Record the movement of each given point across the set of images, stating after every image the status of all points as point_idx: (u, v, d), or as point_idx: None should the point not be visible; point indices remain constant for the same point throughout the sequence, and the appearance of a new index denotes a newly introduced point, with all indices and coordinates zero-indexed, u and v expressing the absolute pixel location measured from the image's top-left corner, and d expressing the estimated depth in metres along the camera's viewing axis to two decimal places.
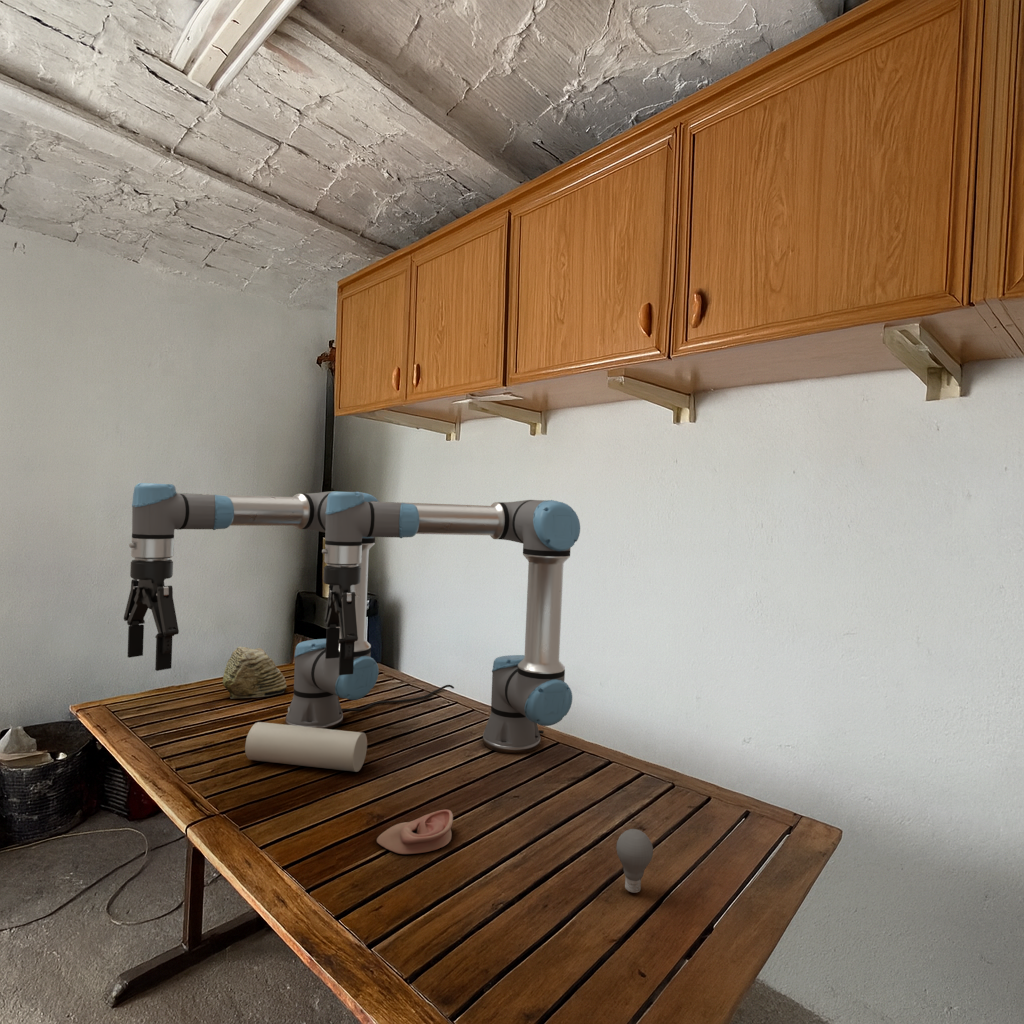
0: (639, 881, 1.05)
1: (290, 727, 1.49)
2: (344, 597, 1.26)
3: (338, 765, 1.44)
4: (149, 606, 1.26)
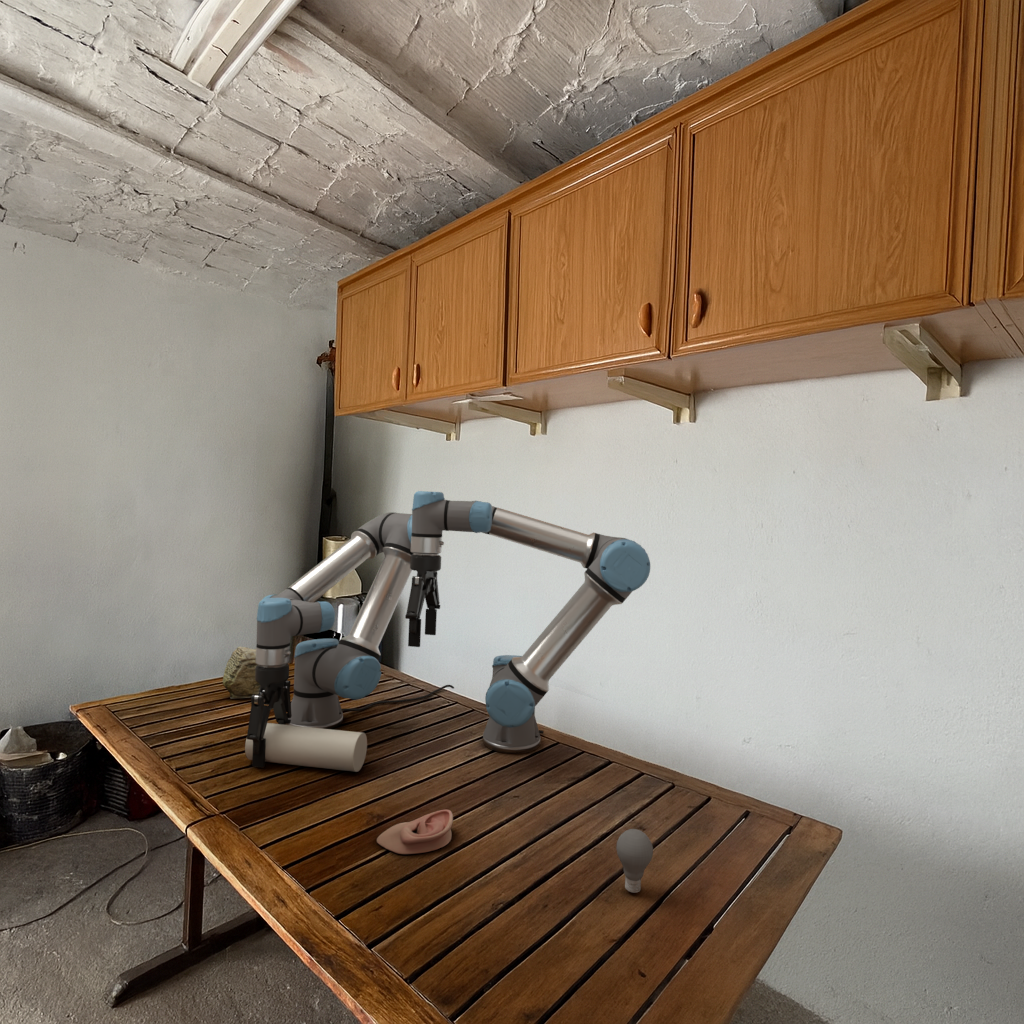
0: (639, 881, 1.05)
1: (290, 727, 1.49)
2: None
3: (338, 765, 1.44)
4: (283, 700, 1.53)
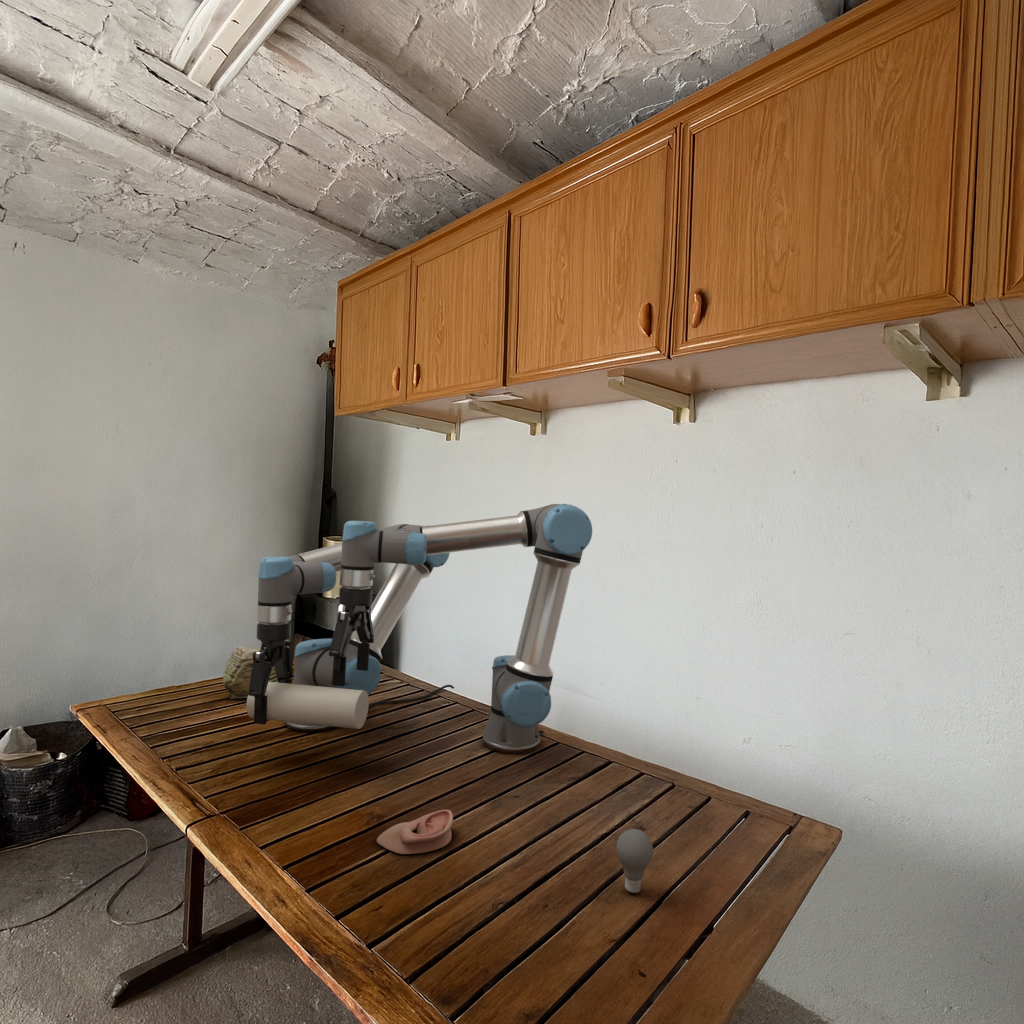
0: (639, 881, 1.05)
1: (291, 685, 1.49)
2: None
3: (340, 721, 1.44)
4: (285, 659, 1.53)
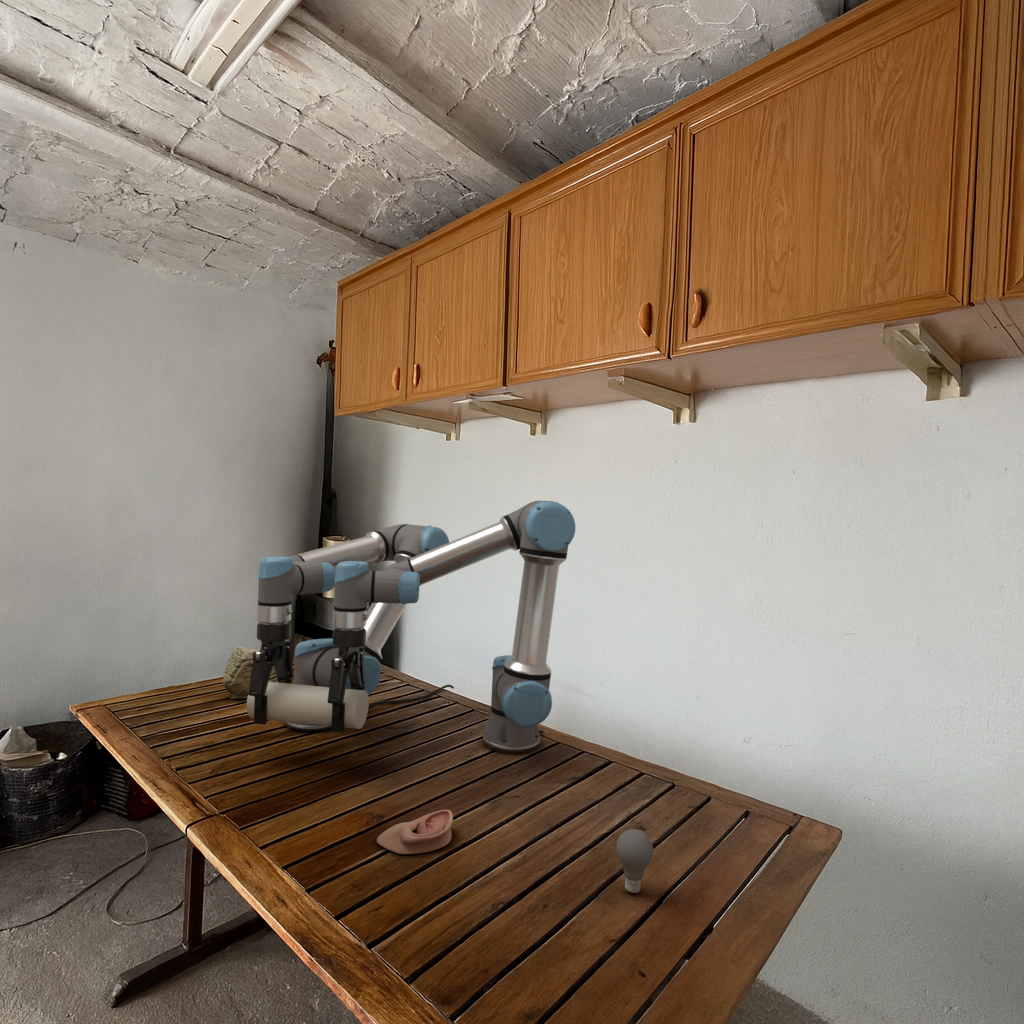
0: (639, 881, 1.05)
1: (292, 685, 1.49)
2: None
3: None
4: (285, 659, 1.53)
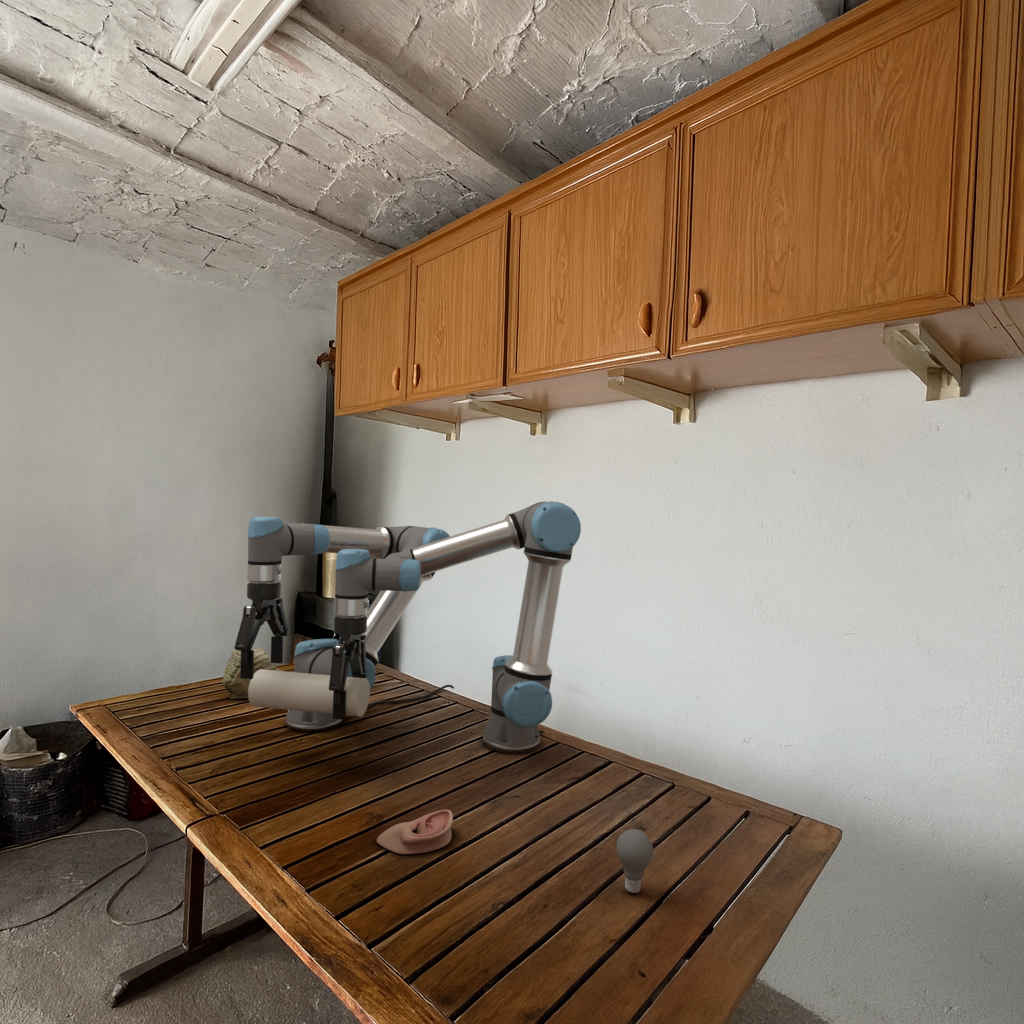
0: (639, 881, 1.05)
1: (293, 673, 1.49)
2: None
3: None
4: (277, 616, 1.54)
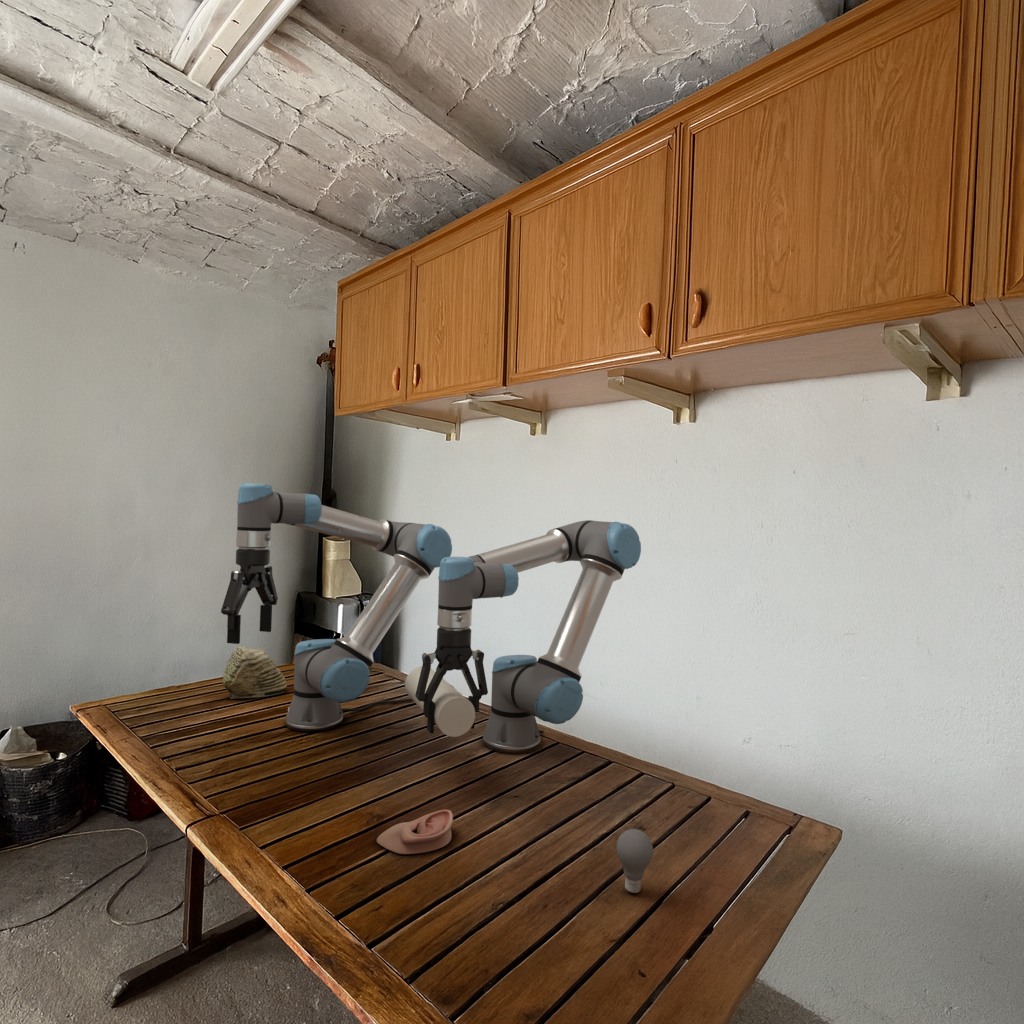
0: (639, 881, 1.05)
1: (431, 676, 1.52)
2: None
3: (434, 722, 1.38)
4: (266, 584, 1.54)
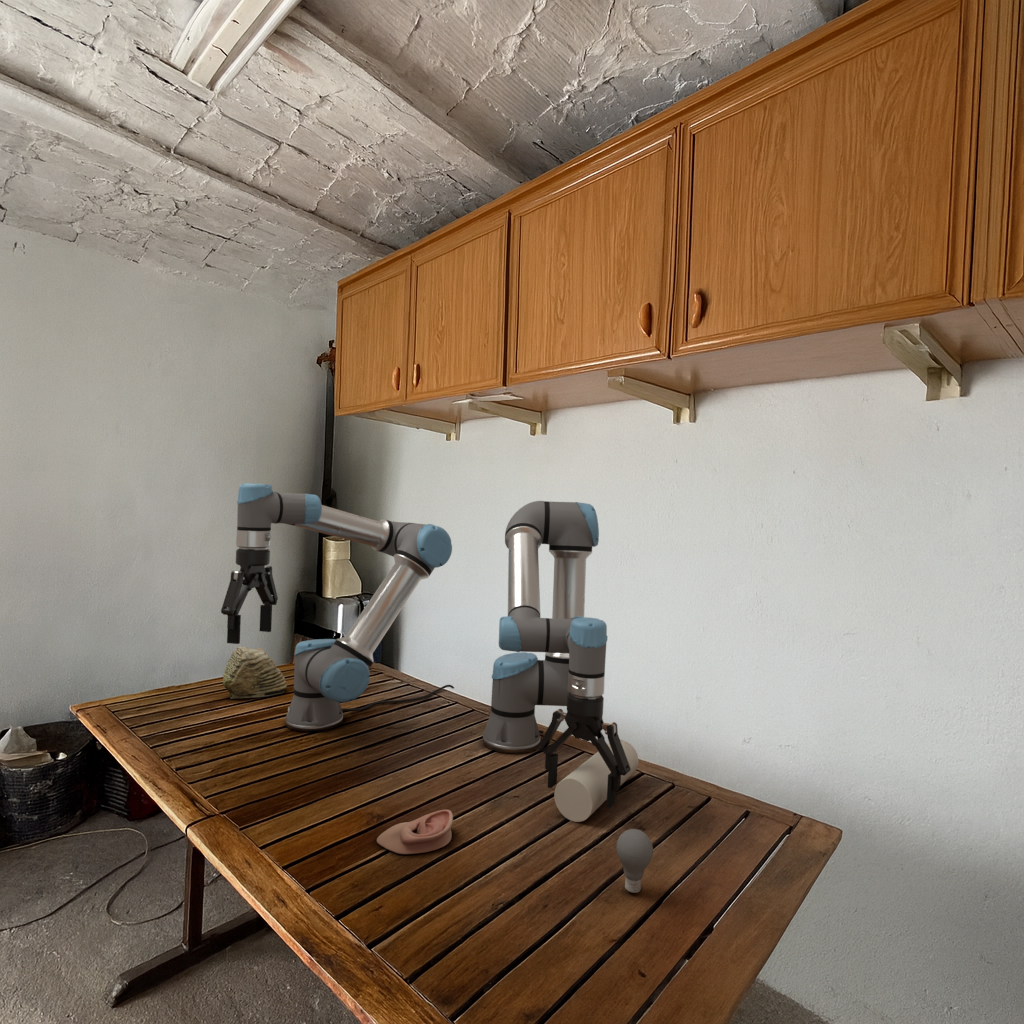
0: (639, 881, 1.05)
1: None
2: (612, 730, 1.27)
3: None
4: (266, 584, 1.54)
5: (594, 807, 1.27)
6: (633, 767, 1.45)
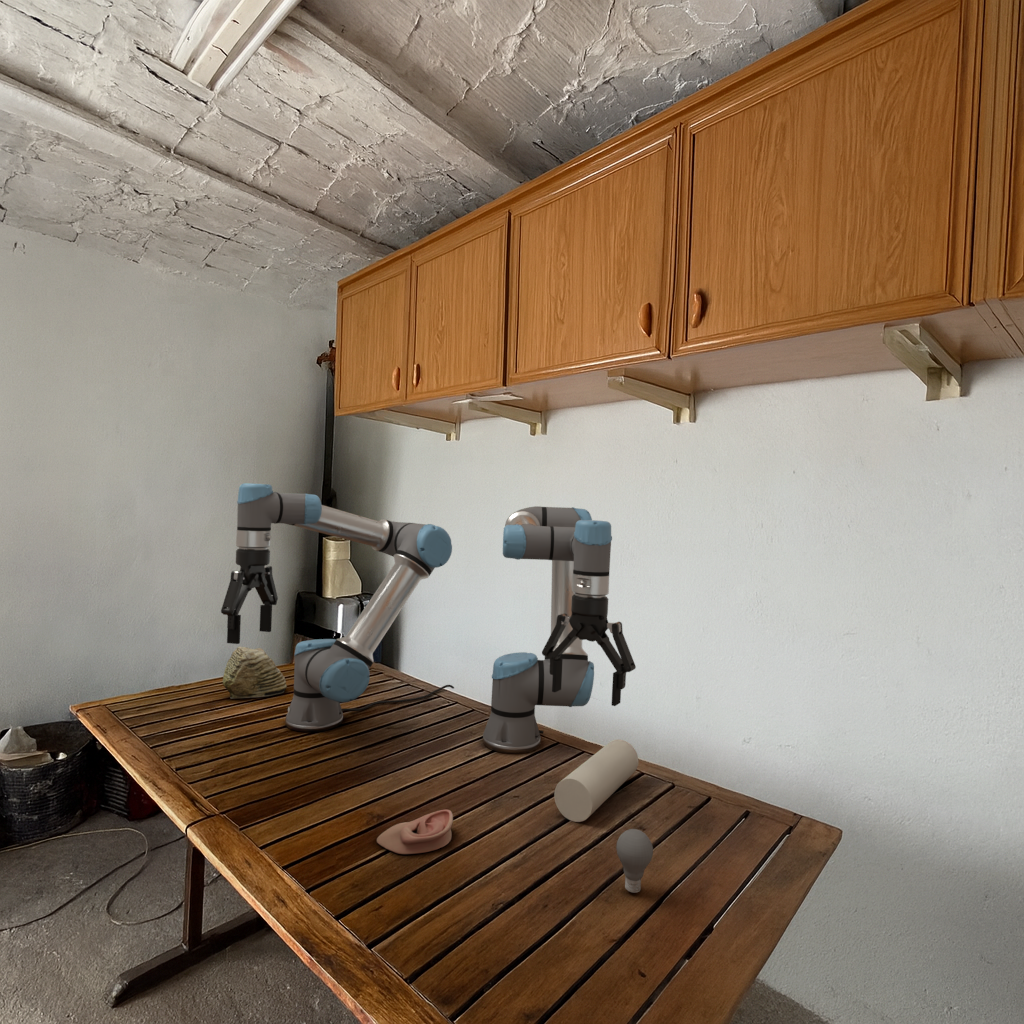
0: (639, 881, 1.05)
1: (605, 751, 1.43)
2: (617, 628, 1.26)
3: None
4: (266, 584, 1.54)
5: (594, 807, 1.27)
6: (633, 767, 1.45)
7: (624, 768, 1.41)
